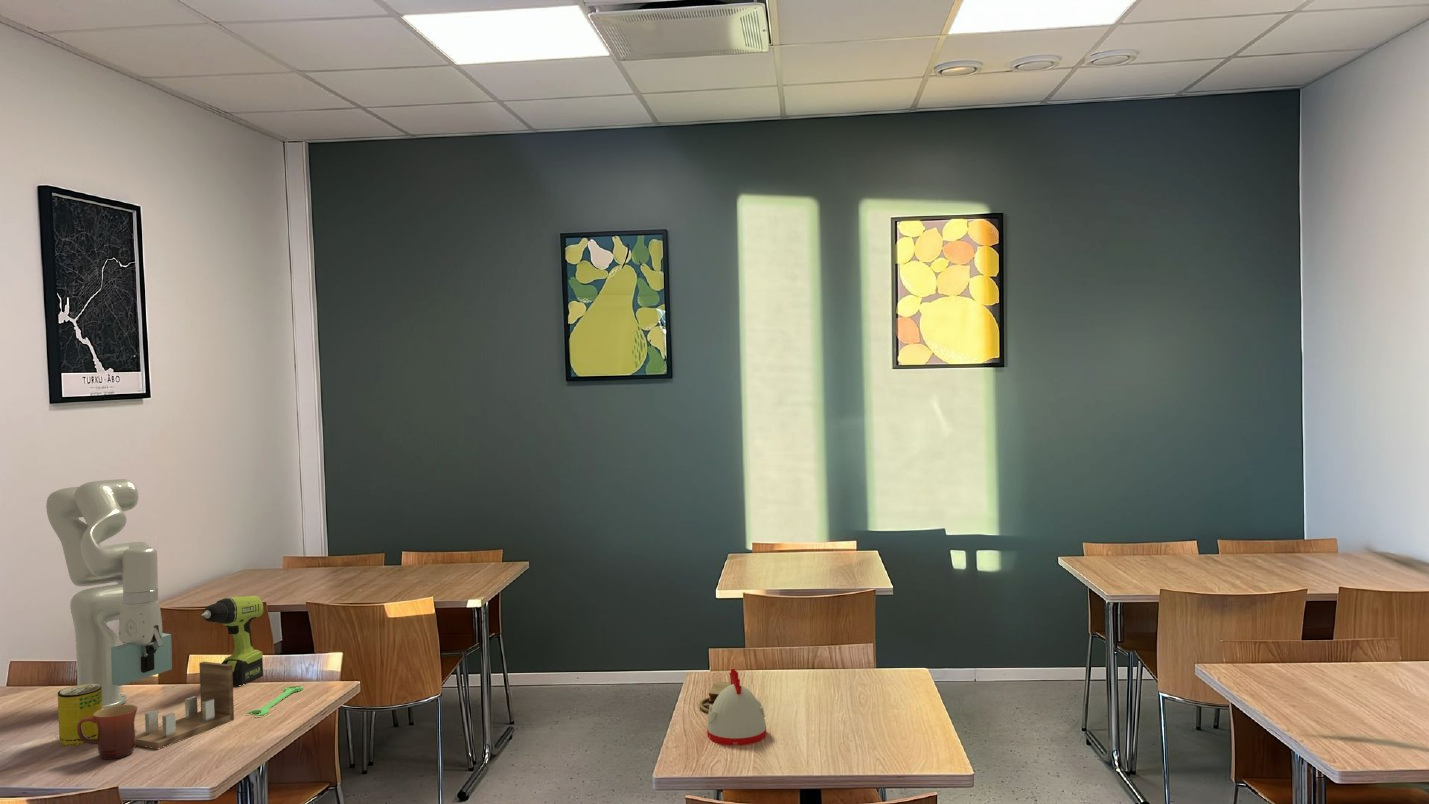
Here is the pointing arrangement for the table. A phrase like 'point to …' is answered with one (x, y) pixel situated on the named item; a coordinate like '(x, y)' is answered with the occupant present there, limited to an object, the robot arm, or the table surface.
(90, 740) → the mug
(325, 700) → the table surface
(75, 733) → the yellow food can
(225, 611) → the cordless drill
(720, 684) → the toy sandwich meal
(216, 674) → the cabinet base
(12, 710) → the table surface
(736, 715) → the kitchen timer
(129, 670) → the pale teal rectangular block
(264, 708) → the wrench
